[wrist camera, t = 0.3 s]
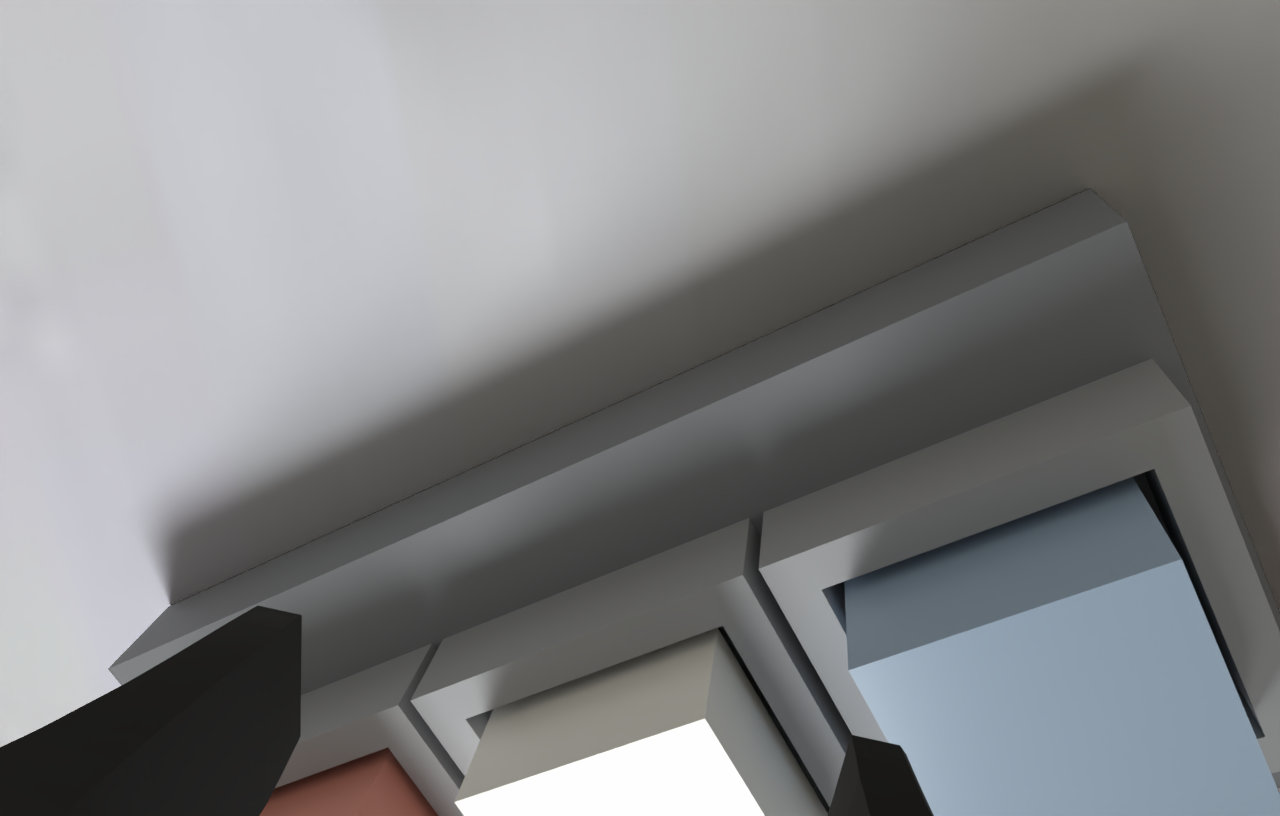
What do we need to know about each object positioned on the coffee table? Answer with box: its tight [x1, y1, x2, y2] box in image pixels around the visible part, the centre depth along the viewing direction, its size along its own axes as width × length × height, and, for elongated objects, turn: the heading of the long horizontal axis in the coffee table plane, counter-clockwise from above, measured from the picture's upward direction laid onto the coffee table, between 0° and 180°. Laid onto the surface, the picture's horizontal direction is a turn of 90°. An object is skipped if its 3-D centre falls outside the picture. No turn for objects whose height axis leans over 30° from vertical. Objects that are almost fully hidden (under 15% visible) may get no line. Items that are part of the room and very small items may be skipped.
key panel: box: [109, 188, 1280, 816], centre depth 22 cm, size 12×23×4 cm, turn 119°
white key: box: [454, 628, 828, 816], centre depth 20 cm, size 5×5×2 cm
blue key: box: [844, 477, 1280, 816], centre depth 17 cm, size 5×5×2 cm
